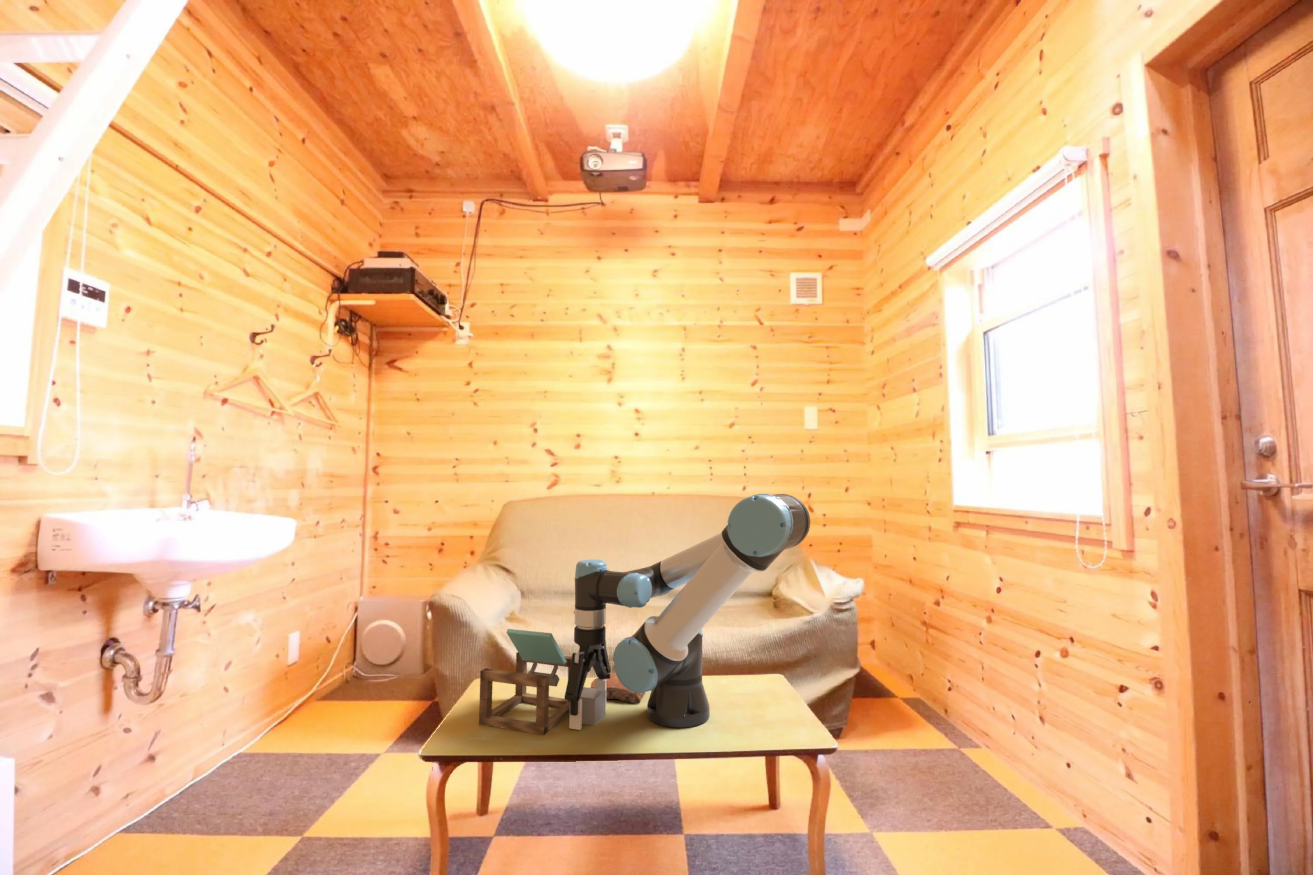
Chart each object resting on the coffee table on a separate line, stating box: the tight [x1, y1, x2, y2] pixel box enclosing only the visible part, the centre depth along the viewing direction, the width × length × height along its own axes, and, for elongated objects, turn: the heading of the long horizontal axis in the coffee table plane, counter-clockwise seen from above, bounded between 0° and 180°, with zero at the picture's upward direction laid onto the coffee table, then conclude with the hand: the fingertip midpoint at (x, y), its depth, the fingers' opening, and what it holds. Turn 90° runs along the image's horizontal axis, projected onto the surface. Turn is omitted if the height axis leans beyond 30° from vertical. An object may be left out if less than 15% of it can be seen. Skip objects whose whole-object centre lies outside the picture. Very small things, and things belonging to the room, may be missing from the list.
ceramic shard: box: [590, 672, 646, 704], centre depth 152 cm, size 15×6×15 cm
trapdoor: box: [506, 628, 567, 688], centre depth 139 cm, size 12×15×5 cm
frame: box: [478, 651, 572, 736], centre depth 137 cm, size 17×17×12 cm
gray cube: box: [580, 686, 607, 726], centre depth 135 cm, size 6×6×6 cm
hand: (588, 716), depth 134 cm, fingers open, 13 cm apart
